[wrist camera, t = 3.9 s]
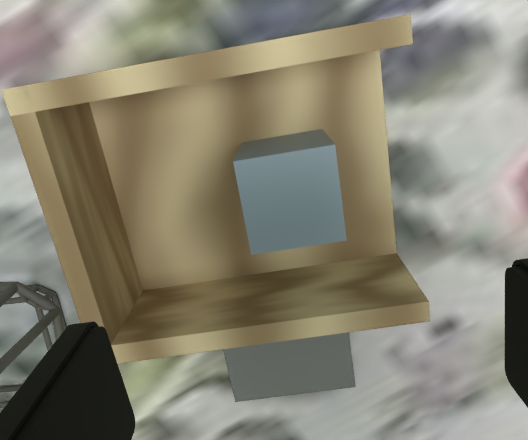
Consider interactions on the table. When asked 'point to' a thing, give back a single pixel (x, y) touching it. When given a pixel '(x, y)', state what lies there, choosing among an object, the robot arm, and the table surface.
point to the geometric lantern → (3, 293)
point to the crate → (216, 193)
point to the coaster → (290, 367)
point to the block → (290, 191)
